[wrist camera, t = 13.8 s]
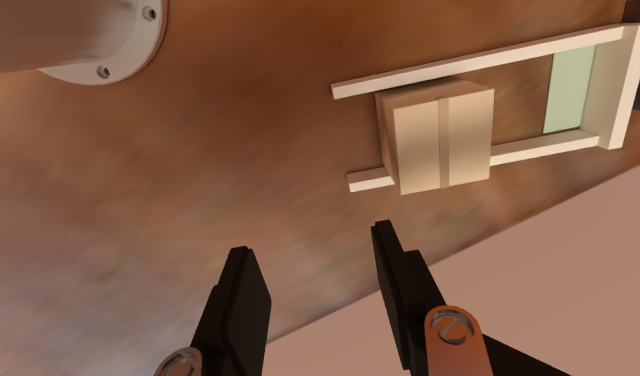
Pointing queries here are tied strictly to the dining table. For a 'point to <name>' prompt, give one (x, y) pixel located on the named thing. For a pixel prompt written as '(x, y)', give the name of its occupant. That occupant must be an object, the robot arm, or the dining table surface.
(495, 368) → the robot arm
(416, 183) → the cardboard box
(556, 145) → the bay
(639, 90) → the winch socket
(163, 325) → the dining table surface
